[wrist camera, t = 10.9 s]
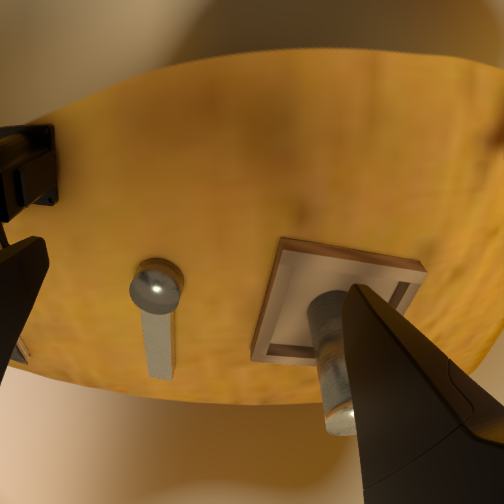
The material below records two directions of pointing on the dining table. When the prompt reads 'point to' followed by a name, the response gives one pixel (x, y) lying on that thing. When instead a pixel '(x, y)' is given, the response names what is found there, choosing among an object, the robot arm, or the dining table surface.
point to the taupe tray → (316, 283)
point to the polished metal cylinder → (331, 361)
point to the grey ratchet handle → (158, 312)
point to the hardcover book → (20, 352)
